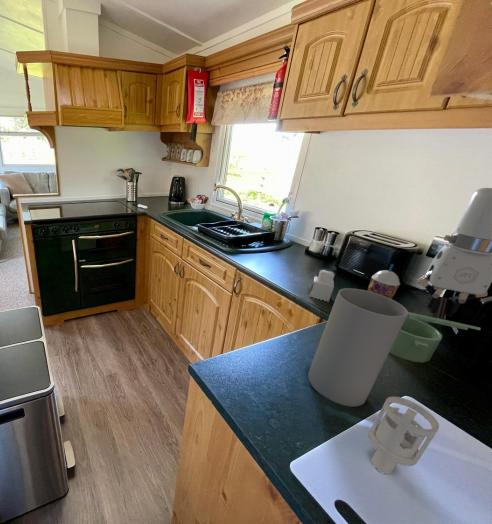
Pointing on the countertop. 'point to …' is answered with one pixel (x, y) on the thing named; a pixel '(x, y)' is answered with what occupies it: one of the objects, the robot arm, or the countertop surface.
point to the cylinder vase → (355, 345)
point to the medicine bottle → (323, 285)
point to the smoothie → (384, 283)
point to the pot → (416, 341)
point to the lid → (441, 316)
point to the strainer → (400, 435)
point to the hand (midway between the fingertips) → (438, 311)
